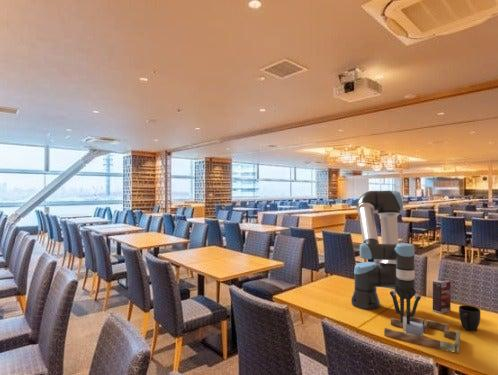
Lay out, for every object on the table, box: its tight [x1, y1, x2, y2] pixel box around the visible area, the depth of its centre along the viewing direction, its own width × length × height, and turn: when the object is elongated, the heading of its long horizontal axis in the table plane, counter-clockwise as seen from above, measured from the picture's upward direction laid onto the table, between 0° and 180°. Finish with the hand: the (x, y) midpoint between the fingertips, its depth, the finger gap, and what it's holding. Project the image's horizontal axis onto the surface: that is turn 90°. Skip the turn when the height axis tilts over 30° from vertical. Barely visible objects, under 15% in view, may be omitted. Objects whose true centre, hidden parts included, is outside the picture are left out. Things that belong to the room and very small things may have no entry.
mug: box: [458, 304, 481, 332], centre depth 148 cm, size 8×12×10 cm
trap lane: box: [383, 316, 461, 354], centre depth 144 cm, size 28×21×4 cm
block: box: [405, 321, 424, 337], centre depth 143 cm, size 6×6×5 cm
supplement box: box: [432, 279, 452, 314], centre depth 170 cm, size 9×5×16 cm, turn 116°
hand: (405, 330), depth 144 cm, fingers closed
